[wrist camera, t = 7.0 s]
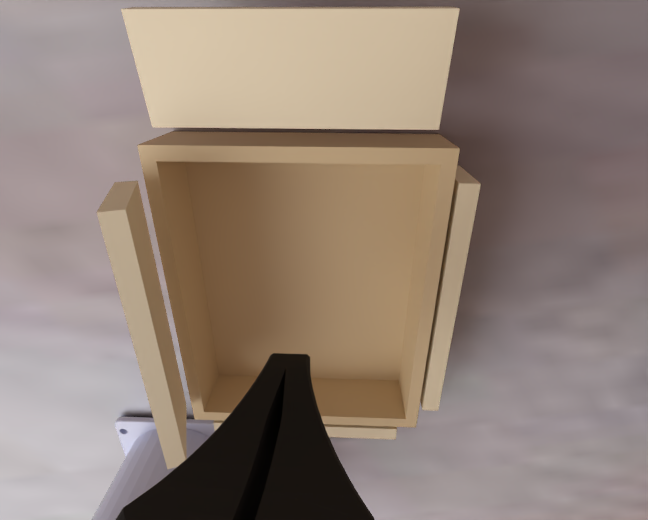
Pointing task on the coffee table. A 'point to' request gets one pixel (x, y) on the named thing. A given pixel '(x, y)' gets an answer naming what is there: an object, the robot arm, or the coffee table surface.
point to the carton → (313, 265)
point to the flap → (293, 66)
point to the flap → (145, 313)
